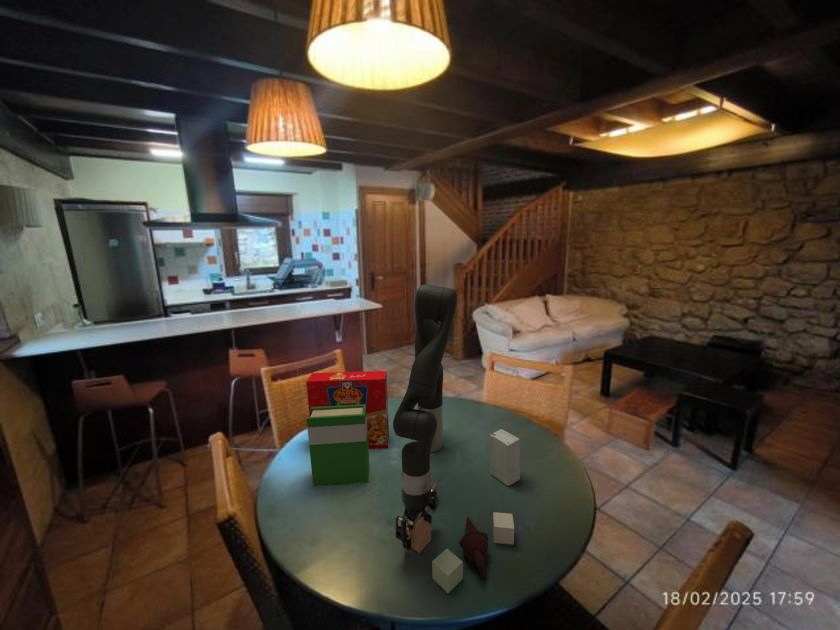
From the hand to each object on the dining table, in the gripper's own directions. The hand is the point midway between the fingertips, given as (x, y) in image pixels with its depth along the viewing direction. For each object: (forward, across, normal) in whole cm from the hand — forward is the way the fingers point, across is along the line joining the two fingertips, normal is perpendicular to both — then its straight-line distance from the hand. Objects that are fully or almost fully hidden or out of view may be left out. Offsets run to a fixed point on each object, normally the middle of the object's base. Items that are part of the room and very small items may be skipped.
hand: (417, 537), depth 94 cm
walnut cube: (+1, -13, -7) cm, 15 cm away
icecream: (+2, -6, +14) cm, 15 cm away
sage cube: (+1, +4, +12) cm, 13 cm away
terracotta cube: (+1, 0, 0) cm, 1 cm away
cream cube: (+1, -15, +17) cm, 23 cm away
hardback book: (+2, -5, -36) cm, 36 cm away
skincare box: (+2, -37, +7) cm, 38 cm away
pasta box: (+2, -20, -48) cm, 52 cm away
